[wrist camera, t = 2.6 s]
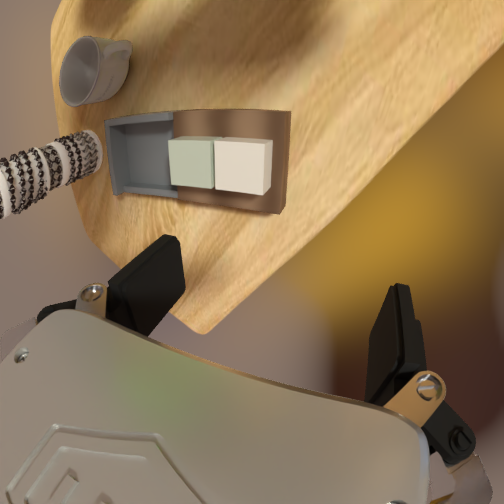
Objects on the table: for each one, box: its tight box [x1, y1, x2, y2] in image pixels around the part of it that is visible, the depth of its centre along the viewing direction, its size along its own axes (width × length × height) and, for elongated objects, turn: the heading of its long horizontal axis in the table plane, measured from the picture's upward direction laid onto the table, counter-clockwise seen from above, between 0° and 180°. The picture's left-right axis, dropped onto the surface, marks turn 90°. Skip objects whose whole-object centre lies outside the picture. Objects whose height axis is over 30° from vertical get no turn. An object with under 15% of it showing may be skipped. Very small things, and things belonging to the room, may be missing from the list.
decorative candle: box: [0, 130, 103, 219], centre depth 31 cm, size 9×9×25 cm
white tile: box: [214, 137, 273, 195], centre depth 29 cm, size 6×6×3 cm
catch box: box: [104, 110, 182, 198], centre depth 35 cm, size 12×12×4 cm
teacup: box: [59, 36, 133, 107], centre depth 28 cm, size 14×11×8 cm
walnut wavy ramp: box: [173, 109, 291, 215], centre depth 32 cm, size 14×12×3 cm
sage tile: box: [168, 136, 222, 189], centre depth 31 cm, size 6×6×3 cm
